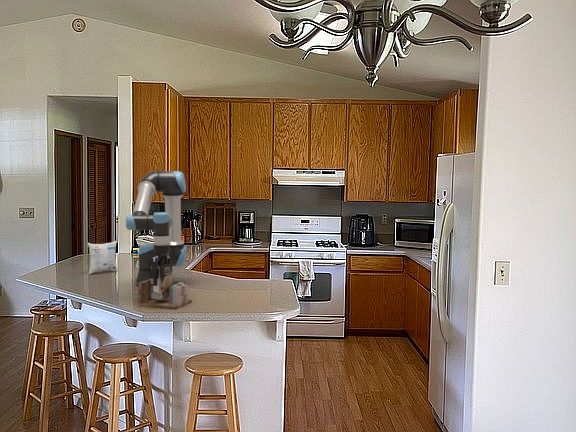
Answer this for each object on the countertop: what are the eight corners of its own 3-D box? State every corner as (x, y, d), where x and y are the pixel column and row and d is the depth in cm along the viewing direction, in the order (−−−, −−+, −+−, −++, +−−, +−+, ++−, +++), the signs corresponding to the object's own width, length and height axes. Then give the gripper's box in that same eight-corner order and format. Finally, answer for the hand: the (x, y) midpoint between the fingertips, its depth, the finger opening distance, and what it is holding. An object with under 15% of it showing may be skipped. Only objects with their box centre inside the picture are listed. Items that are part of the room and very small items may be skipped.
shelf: (156, 298, 278) (156, 277, 277) (191, 302, 272) (191, 279, 271) (138, 306, 263) (138, 282, 262) (175, 309, 257) (175, 285, 256)
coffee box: (161, 299, 262) (161, 266, 261) (150, 298, 264) (150, 265, 263) (172, 296, 270) (172, 263, 269) (162, 294, 273) (161, 262, 272)
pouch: (120, 272, 351) (119, 241, 349) (89, 275, 339) (89, 243, 337) (115, 270, 357) (115, 239, 355) (85, 273, 345) (85, 242, 344)
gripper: (166, 241, 277) (166, 285, 279) (142, 246, 256) (142, 294, 258) (179, 242, 275) (179, 286, 276) (156, 247, 254) (156, 295, 256)
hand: (161, 290), depth 267 cm, fingers closed on coffee box, 9 cm apart
